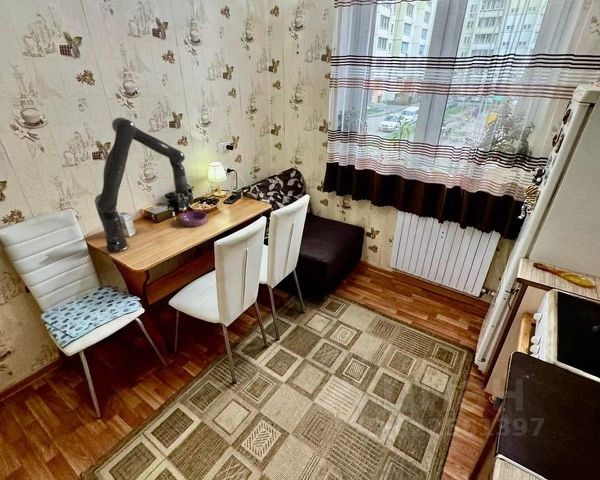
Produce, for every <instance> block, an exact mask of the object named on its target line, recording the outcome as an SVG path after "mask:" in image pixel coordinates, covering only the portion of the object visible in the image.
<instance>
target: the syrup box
mask: <svg viewBox="0 0 600 480" xmlns="http://www.w3.org/2000/svg"><path fill="white" fill-rule="evenodd" d="M118 214H119V217H120V220H121V224H122V227H123V231H124V234H125V237H128V238H130V237H132V236H133V235H136V233H137V232H136V229H135V225H134V221H133V218H132V215H131V212H125V211H122V212H120V213H118Z"/></svg>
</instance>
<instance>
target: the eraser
mask: <svg viewBox="0 0 600 480" xmlns="http://www.w3.org/2000/svg"><path fill="white" fill-rule="evenodd" d="M177 205H178V210H179V211H186V210H187V208H186V202H185V200H184V199H182V201H181V203H179V202H178V204H177ZM190 206H191V204H190V203H189V207H190Z"/></svg>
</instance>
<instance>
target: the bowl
mask: <svg viewBox="0 0 600 480" xmlns="http://www.w3.org/2000/svg"><path fill="white" fill-rule="evenodd" d="M180 221H181V222H180V223H181V225H183V226H184V227H200V226H202V225H205V224H206V223H208V214H207V213H206V212H204V211H201V210H200V211H199V210H196V211H195V210H194V211H188V212H185V213H183V214H182V215H181V216H180Z"/></svg>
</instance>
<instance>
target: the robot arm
mask: <svg viewBox="0 0 600 480" xmlns="http://www.w3.org/2000/svg"><path fill="white" fill-rule="evenodd" d="M111 127H112V130H113V131H114V132H115V138H114V142H113V145H112V147H111V149H110V150H109V152H108V154H107V156H106V159H105V162H104V167H103V173H102V175H103V177H102V179H103V181H102V183H103V185H102V190H101V193H100V194H97V195H96V197H95V198H94V205H95V208H96V211H97V214H98V217H99V219H100V222H101V225H102V227H103V228H102V229H103V231H104V234H105V236H104V239H105V241H106V245H105V246H106V250H107V251H109V252H110V253H111V254H115V253H120V252H124V251H125V250H127V249H128V248H129V244H128V241H127V237H126V236H125V234H124V231H123V227H122V224H121V220H120V217H119V214H120V213H119V212H118V210H117V205H118V196H119V190H120V187H121V185H122V180H123V178H124V174H125V171H126V170H125V169H126V167H127V161H128V156H129V152H130V148H131V145H132V143H133V140H134V141H136V142H137V143H139V144H141V145H143V146H145V147H147V148H148V149H150V150H152V151H154V152H156V153H157V154H159V155H162V156H164V157H166V158H168V160H169V163H170V166H171V169H172V175H173V182H174V190H175V191H173V192H171V195H172V198H173V199H174V201H175V202H176V203H178V204H179V203H181V202H182V201H183V200H185V202H186V208H187V209H189V208H190V206H189V204H190V203H191V202H192V201H193V198H194V193H193V192H190V191H189V186H188V180H187V179H188V178H187V175H186V170H185V167H184V165H183V164H182V163H183V162H184V161H185V158H186V157H185V154H184V152H182V151H181V150H179V149H177V148H176V147H173V146H171V145H169V144H168V143H166V142H164V141H163V140H160V139H159V138H157V137H155V136H153V135H150V134H148V133H146V132H145V131H142V130H141V129H140V128H137V127H136V126H135V124H134V122H133V121H131V120H130V119H128V118H126V117H116V118H114V119H113V121H112V122H111ZM187 209H186V210H187Z"/></svg>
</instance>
